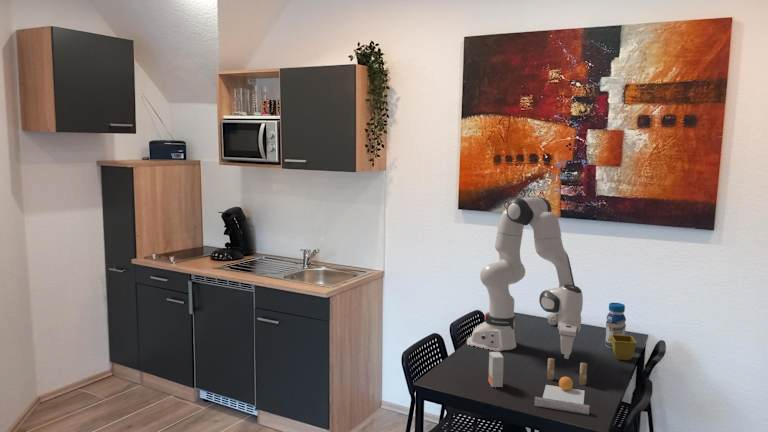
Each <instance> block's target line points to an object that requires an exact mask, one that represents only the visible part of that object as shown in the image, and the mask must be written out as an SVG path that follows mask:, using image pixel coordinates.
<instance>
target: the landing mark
mask: <svg viewBox="0 0 768 432" xmlns="http://www.w3.org/2000/svg"><path fill="white" fill-rule="evenodd" d="M585 392H586V391H585V390H582V389H578V388H577V389H575V388H571V389H570V390H567V391H566V390H563V389H561V387H560V386H556V385H551V384H550V385H549V384H545V387H544V391H543V395H542V398H547V399H553V400H559V401H565V402H572V403H578V404H584V405H585Z"/></svg>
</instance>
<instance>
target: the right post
mask: <svg viewBox="0 0 768 432" xmlns="http://www.w3.org/2000/svg"><path fill="white" fill-rule="evenodd" d="M587 372H588V363H587V362H580V364H579V381H578V384H579V385H581V386H586V385H587V374H588V373H587Z"/></svg>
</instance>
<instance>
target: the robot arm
mask: <svg viewBox="0 0 768 432" xmlns="http://www.w3.org/2000/svg"><path fill="white" fill-rule="evenodd" d="M498 221H499V222H498V227H497V231H496V237H495V238H496V239H495V245H494V248H495V250H496V251H497V252H498V255H499V259H498V262H494V263H490V264H487V265H486V266H485V267H483V268H482V269H481V271H480V274H479V276H480V277H479V278H480V282H481V283H482V284H483V286H485V288H486V290H487V292H488V298H489V299H488V300H489V309H488V310H489V311H486V313H485V315H484V321H483V322H482V323H479V325H477V326H476V327H474V329H473V331H472V334H471V336H469V337H468V338H467V339H466V345H467V346H469V345H470V346H469V347H473V346H475V347H474V348H478V347H479V348H478V349H483V348H484V349H483V350H488V349H489V350H488V351H492V350H493V351H492V352H502V351H510V350H513V349H515V348H517V343H516V337H515V328H516V327H515V326H516V318H515V298H514V297H513V296H512V295H511V294H510V289H509V287H510V285H514V284H517V283H518V282H520V281H521V280H523V279H524V277H525V275H526V268H525V266H524V264H523V263H522V261H521V246H522V240H523V234H524V228H525V226H528V225H530V227H531V228H532V231H533V241H534V248H535V252H536V253H537V255H538V256H539V257H540V258H541V259H544V260H545V261H548V262H550V263H551V264H553V265H554V268H555V269H556V270H555V271H556V274H557V278H558V282H559V283H558V287H555V288H549V289H545V290H543V291H541V293H540V295H539V300H538V301H539V305H540V307H541V309H542V310H543V311H545V312H547V313H550V314H552V313H558V314H559V318H558V323H557V329H558V331H559V332H558V334H559V335H560V353H561V354H562V355H563V358H564V360H565V359H567V360H569V358H570V355H571V354H572V349H573V344H574V341H575V337H577V334H578V333H579V332H581V327H582V315H581V314H582V311H583V303H584V301H583V300H584V296H583V292H582V289H581V288H580V287H578V286H577V285H575V282H574V276H573V272H572V271H573V270H572V267H571V261H570V257H569V256H568V253H567V251H566V250H565V248H564V245H563V241H562V231H561V226H560V222H559V220H558V216H557V215H556V214H555V213H554V212H552V204H551V203H550V202H549V200H547V199H546V198H543V197H539V196H538V197H535V196H529V197H523V198H522V197H521V198H520V197H519V198H515V199H513V200H511V201H510V202H509V203H508V204H507V205H506V209H504V210H503V211H502V214H501V216H500V218H499V220H498Z"/></svg>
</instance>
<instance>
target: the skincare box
mask: <svg viewBox="0 0 768 432" xmlns="http://www.w3.org/2000/svg"><path fill="white" fill-rule="evenodd" d="M488 353H489V355H488V356H489V357H488V383H489V384H490V387H491V388H492V387H495V388H494V389H496V387H502V388H503V385H504V384H503V383H504V382H503V381H504V356H503V354H502V353H501V351H489V352H488Z"/></svg>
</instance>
